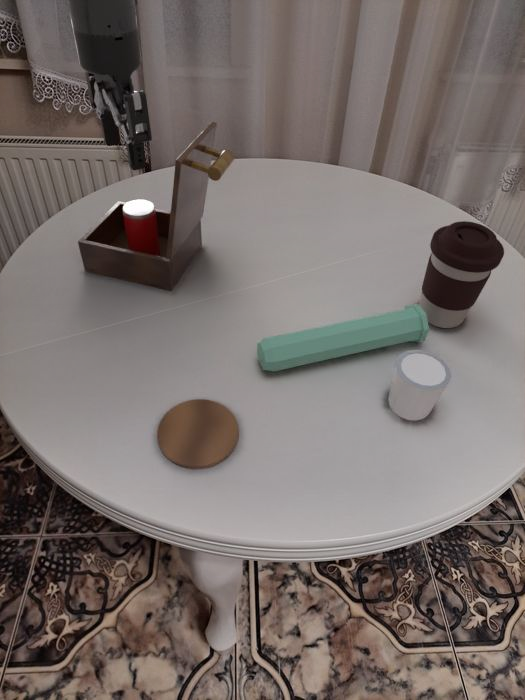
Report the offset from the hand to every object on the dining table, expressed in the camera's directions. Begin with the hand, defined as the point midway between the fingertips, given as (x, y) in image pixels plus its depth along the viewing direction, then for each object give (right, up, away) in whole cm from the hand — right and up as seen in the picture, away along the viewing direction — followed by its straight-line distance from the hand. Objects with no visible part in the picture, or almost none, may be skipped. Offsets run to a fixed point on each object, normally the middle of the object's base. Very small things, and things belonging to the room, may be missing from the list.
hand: (125, 155), depth 72 cm
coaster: (+11, -38, -9) cm, 40 cm away
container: (+30, -28, +3) cm, 41 cm away
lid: (+8, -3, +5) cm, 10 cm away
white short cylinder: (+39, -35, -3) cm, 52 cm away
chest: (-1, -11, +16) cm, 20 cm away
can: (-1, -11, +16) cm, 19 cm away
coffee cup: (+48, -22, +10) cm, 54 cm away
